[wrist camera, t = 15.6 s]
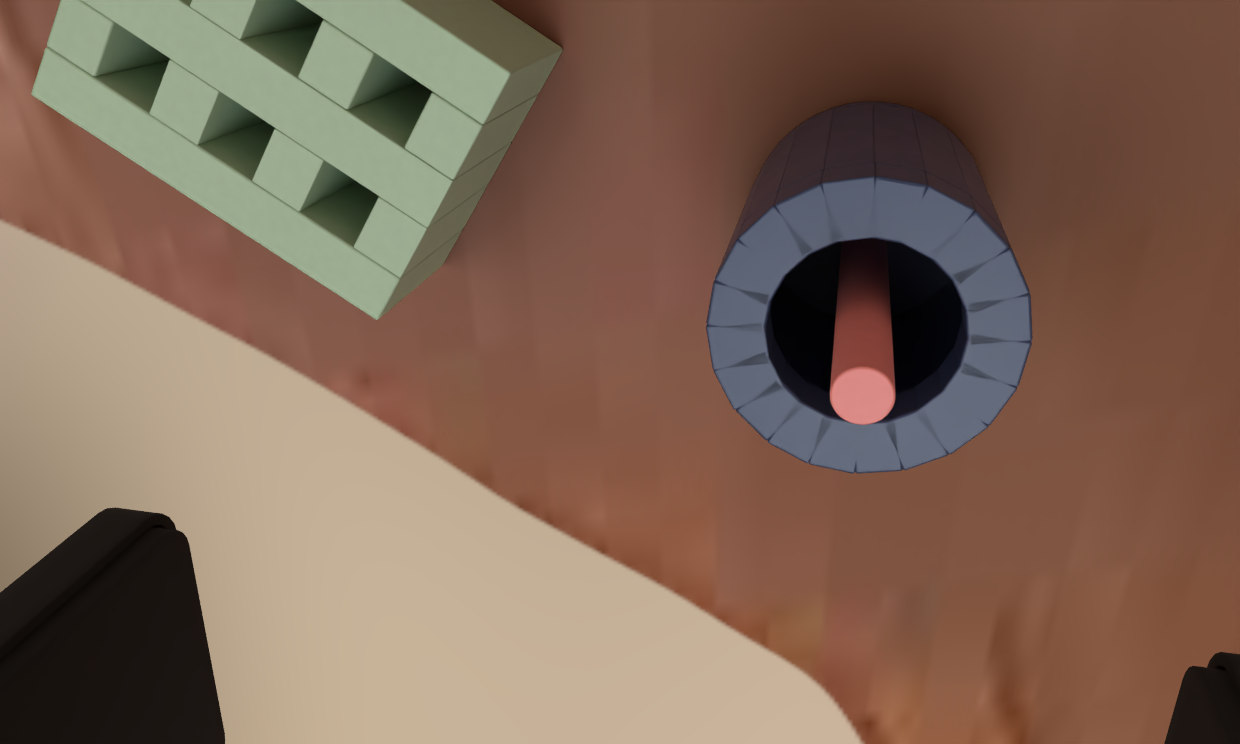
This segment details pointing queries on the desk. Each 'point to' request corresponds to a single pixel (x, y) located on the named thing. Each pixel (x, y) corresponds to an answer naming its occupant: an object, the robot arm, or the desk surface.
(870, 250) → the straw
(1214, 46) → the desk surface
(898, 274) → the tumbler
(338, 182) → the rack
